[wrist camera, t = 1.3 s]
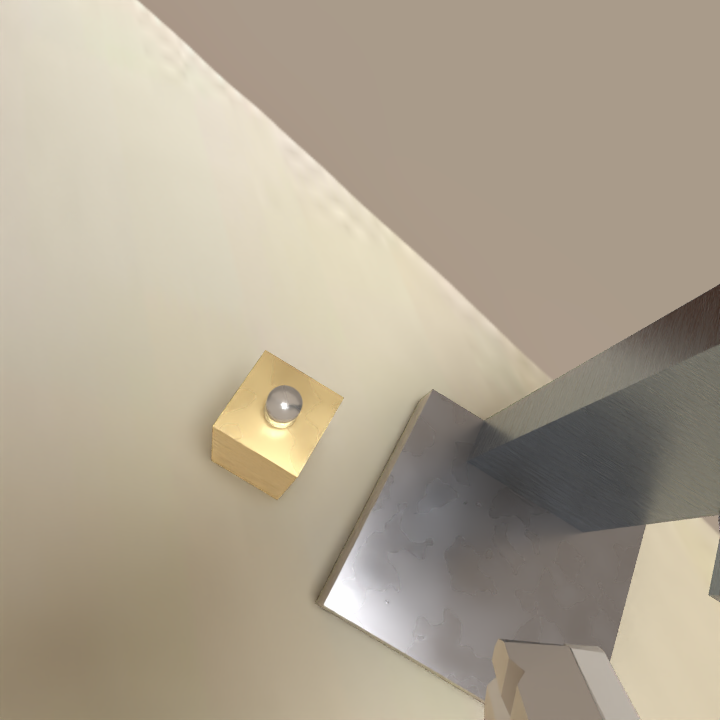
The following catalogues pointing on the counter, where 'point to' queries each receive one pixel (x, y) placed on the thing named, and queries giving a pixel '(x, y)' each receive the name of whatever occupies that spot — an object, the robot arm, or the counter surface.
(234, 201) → the counter surface
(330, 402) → the block
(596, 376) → the press
